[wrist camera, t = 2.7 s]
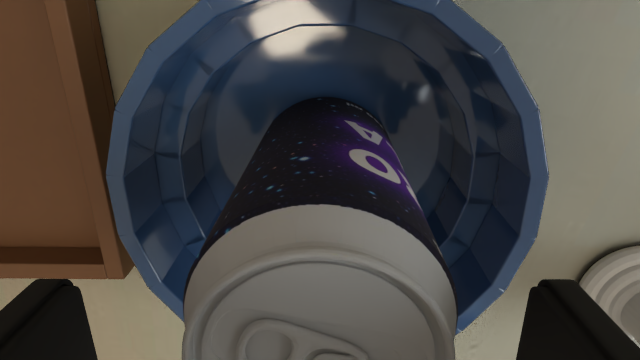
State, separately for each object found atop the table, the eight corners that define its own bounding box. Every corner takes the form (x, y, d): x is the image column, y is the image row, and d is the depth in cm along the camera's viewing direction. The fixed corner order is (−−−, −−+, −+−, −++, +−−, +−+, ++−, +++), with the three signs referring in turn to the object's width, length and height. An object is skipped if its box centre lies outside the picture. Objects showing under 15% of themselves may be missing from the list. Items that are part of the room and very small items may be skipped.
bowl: (511, -22, 16) (594, -38, 11) (466, 288, 21) (509, 374, 16) (144, -18, 17) (60, -31, 11) (189, 285, 22) (145, 369, 17)
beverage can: (360, 230, 20) (396, 506, 9) (246, 190, 19) (130, 432, 8) (412, 120, 18) (543, 298, 7) (286, 72, 17) (204, 180, 6)
